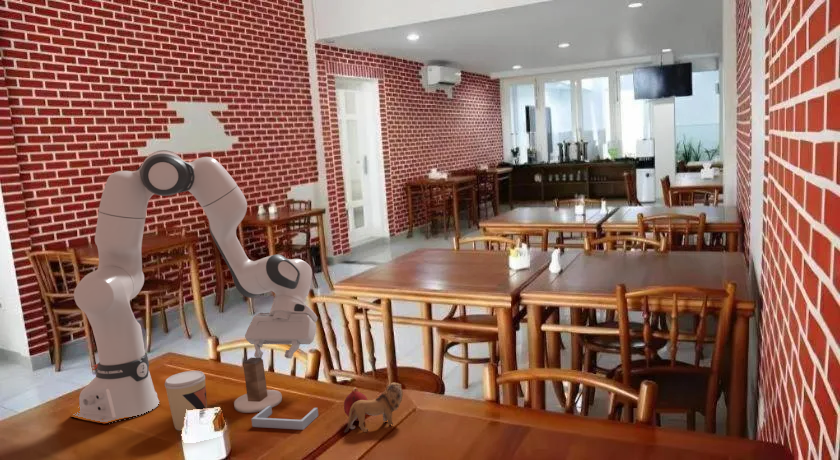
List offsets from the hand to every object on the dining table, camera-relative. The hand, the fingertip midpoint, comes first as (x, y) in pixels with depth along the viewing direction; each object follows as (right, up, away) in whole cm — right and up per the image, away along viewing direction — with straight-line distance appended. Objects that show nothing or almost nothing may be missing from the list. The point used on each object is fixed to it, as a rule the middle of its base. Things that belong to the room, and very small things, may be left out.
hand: (272, 357), depth 171 cm
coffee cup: (-16, -13, -16) cm, 26 cm away
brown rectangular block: (-2, -9, -7) cm, 12 cm away
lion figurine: (+30, -10, -27) cm, 42 cm away
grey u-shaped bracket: (+8, -11, -19) cm, 23 cm away
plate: (-2, -10, -7) cm, 13 cm away
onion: (+25, -10, -24) cm, 36 cm away
